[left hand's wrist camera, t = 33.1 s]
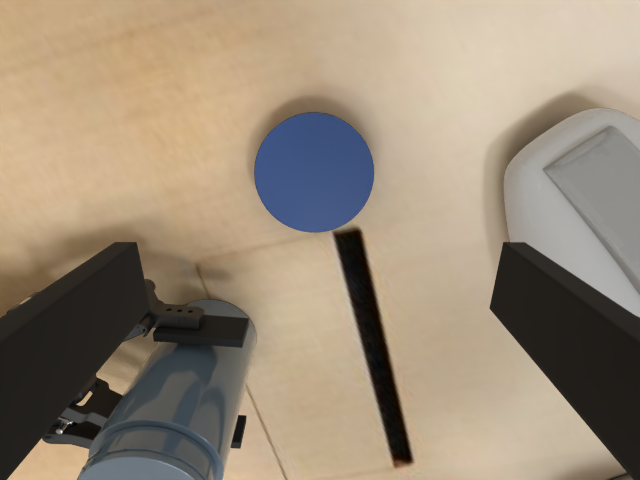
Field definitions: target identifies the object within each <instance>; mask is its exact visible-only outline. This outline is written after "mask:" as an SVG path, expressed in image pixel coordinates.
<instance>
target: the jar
mask: <svg viewBox="0 0 640 480" xmlns="http://www.w3.org/2000/svg"><path fill="white" fill-rule="evenodd" d="M186 306H196V307H200V308H202V309H204V312H205V315H215V316H227V317H240V318H249V317H248V316H247V315H246V314H245V313H244V312H243V311H242V310H240V309H239V308H237V307H236V306H234V305H232V304H229V303H227V302H224V301H220V300H212V299H206V300H198V301H195V302H192V303H190V304H187V305H186ZM256 338H257V336H256V331H255V327H254V325H253V323H252V321H251V320H250V318H249V327H248V330H247V333H246V337H245V340H244V343H243V347H242V348H238V347H224V346H211V345H197V344H183V343H170V342H157V344H156V345H155V347H154V348H153V350H152V351H151V353H150V354H149V356H148V358H147V359H146V361H145V362H144V364H143V365H142V367H141V368H140V370H139V371H138V373H137V374H136V376H135V377H134V379H133V381H132V382H131V384H130V385H129V387H128V388H127V390H126V391H125V393H124V394H123V396H122V397H121V399H120V400H119V402H118V403H117V405H116V407H115V408H114V410H113V411H112V413H111V414H110V416H109V417H108V419H107V420H106V422H105V423H104V425H103V426H102V428H101V430H100V431H99V433H98V434H97V436H96V437H95V439H94V440H93V442H92V444H91V446H90V449H89V456H88V457H89V459H88V460H87V462H86V464H85V465H84V467H83V468H82V470H81V472H80V474H79V476H78V478H77V480H222V479H223V476H224V472H225V468H226V464H227V460H228V456H229V452H230V448H231V444H232V440H233V436H234V431H235V427H236V423H237V419H238V415H239V411H240V407H241V403H242V399H243V395H244V391H245V387H246V383H247V379H248V374H249V370H250V366H251V362H252V358H253V354H254V350H255V346H256Z"/></svg>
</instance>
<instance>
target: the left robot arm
mask: <svg viewBox="0 0 640 480" xmlns="http://www.w3.org/2000/svg"><path fill="white" fill-rule="evenodd" d="M149 310H150V304H149V299H148V295H147V290H146V285H145V280H144V276H143V271H142V266H141V261H140V257H139V252H138V247H137V242H115V243H113V244H112V245H110V246H109V247H107V248H106V249H104V250H103V251H101V252H100V253H98V254H97V255H95V256H94V257H92V258H91V259H89V260H88V261H86V262H84V263H83V264H81V265H80V266H78V267H77V268H75V269H74V270H72V271H71V272H69V273H68V274H66V275H65V276H63V277H62V278H60V279H59V280H57V281H56V282H54V283H53V284H51V285H50V286H48V287H47V288H45V289H44V290H42V291H41V292H39V293H38V294H36V295H35V296H33V297H32V298H30V299H29V300H27V301H26V302H24V303H23V304H21V305H20V306H18V307H17V308H15V309H14V310H12V311H11V312H9V313H8V314H6V315H5V316H3V317H1V318H0V480H7V479H8V477H9V476H10V475H11V474H12V473H13V471H14V470H15V469H16V468H17V467H18V466H19V464H20V463H21V462H22V461H23V460H24V458H25V457H26V456H27V455H28V454H29V452H30V451H31V450H32V449H33V448H34V446H35V445H36V444H37V443H38V442H39V441H40V439H41V438H42V437H43V436H44V435H45V433H46V432H47V431H48V430H49V429H50V427H51V426H52V425H53V424H54V423H55V421H56V420H57V419H58V418H59V417H60V415H61V414H62V413H63V412H64V411H65V410H66V408H67V407H68V406H69V405H70V404H71V402H72V401H73V400H74V399H75V398H76V396H77V395H78V394H79V393H80V392H81V390H82V389H83V388H84V387H85V386H86V385H87V383H88V382H89V381H90V380H91V379H92V377H93V376H94V375H95V374H96V373H97V371H98V370H99V369H100V368H101V367H102V365H103V364H104V363H105V362H106V361H107V360H108V358H109V357H110V356H111V355H112V354H113V352H114V351H115V350H116V349H117V348H118V346H119V345H120V344H121V343H122V342H123V340H124V339H125V338H126V337H127V336H128V335H129V333H130V332H131V331H132V330H133V329H134V327H135V326H136V325H137V324H138V323H139V321H140V320H141V319H142V318H143V317H144V315H145V314H146V313H147V312H148V311H149ZM490 310H491V311H492V312H493V313H494V314H495V315H496V317H497V318H498V319H499V320H500V321H501V323H502V324H503V325H504V326H505V327H506V329H507V330H508V331H509V332H510V333H511V335H512V336H513V337H514V338H515V339H516V340H517V342H518V343H519V344H520V345H521V346H522V348H523V349H524V350H525V351H526V352H527V354H528V355H529V356H530V357H531V358H532V360H533V361H534V362H535V363H536V364H537V365H538V367H539V368H540V369H541V370H542V371H543V373H544V374H545V375H546V376H547V377H548V379H549V380H550V381H551V382H552V383H553V385H554V386H555V387H556V388H557V389H558V390H559V392H560V393H561V394H562V395H563V396H564V398H565V399H566V400H567V401H568V402H569V404H570V405H571V406H572V407H573V408H574V410H575V411H576V412H577V413H578V414H579V415H580V417H581V418H582V419H583V420H584V421H585V423H586V424H587V425H588V426H589V427H590V429H591V430H592V431H593V432H594V433H595V435H596V436H597V437H598V438H599V439H600V441H601V442H602V443H603V444H604V445H605V446H606V448H607V449H608V450H609V451H610V452H611V454H612V455H613V456H614V457H615V458H616V460H617V461H618V462H619V463H620V464H621V466H622V467H623V468H624V469H625V470H626V471H627V473H628V475H624V476H621V477H618V478H616V479H613V480H640V317H638V316H636V315H634V314H632V313H631V312H629V311H628V310H626V309H625V308H623V307H622V306H620V305H619V304H617V303H616V302H614V301H613V300H611V299H610V298H608V297H607V296H605V295H604V294H602V293H601V292H599V291H598V290H596V289H595V288H593V287H592V286H590V285H589V284H587V283H586V282H584V281H583V280H581V279H580V278H578V277H577V276H575V275H574V274H572V273H571V272H569V271H568V270H566V269H565V268H563V267H562V266H560V265H559V264H557V263H556V262H554V261H552V260H551V259H549V258H548V257H546V256H545V255H543V254H542V253H540V252H539V251H537V250H536V249H534V248H533V247H531V246H530V245H528V244H527V243H525V242H503V247H502V252H501V257H500V261H499V266H498V271H497V276H496V280H495V285H494V290H493V295H492V299H491V304H490Z"/></svg>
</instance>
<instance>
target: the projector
mask: <svg viewBox="0 0 640 480" xmlns="http://www.w3.org/2000/svg"><path fill="white" fill-rule="evenodd" d="M504 204H505V214H506V221H507V228H508V235H509V240H510V242H525V243H527V244H528V245H530V246H531V247H533V248H534V249H536V250H537V251H539V252H540V253H542V254H543V255H545V256H546V257H548V258H549V259H551V260H552V261H554V262H556V263H557V264H559V265H560V266H562V267H563V268H565V269H566V270H568V271H569V272H571V273H572V274H574V275H575V276H577V277H578V278H580V279H581V280H583V281H584V282H586V283H587V284H589V285H590V286H592V287H593V288H595V289H596V290H598V291H599V292H601V293H602V294H604V295H605V296H607V297H608V298H610V299H611V300H613V301H614V302H616V303H617V304H619V305H620V306H622V307H623V308H625V309H626V310H628V311H629V312H631V313H632V314H634V315H636V316H638V317H640V121H639V120H637V119H635V118H633V117H631V116H629V115H627V114H625V113H622V112H620V111H617V110H613V109H606V108H594V109H588V110H584V111H581V112H579V113H576V114H574V115H572V116H570V117H568V118H566V119H565V120H563V121H561V122H560V123H558V124H556V125H555V126H553V127H552V128H550V129H549V130H547V131H546V132H544V133H543V134H541V135H540V136H538V137H537V138H536V139H534V140H533V141H532V142H530V143H529V144H528V145H527V146H525V147H524V148H523V149H522V150H521V151H520V152H519V153H518V154H517V155H516V156H515V157H514V158H513V159H512V160H511V162H510V163H509V164H508V166H507V168H506V171H505V175H504Z"/></svg>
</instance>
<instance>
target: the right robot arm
mask: <svg viewBox="0 0 640 480" xmlns="http://www.w3.org/2000/svg"><path fill="white" fill-rule="evenodd" d="M144 280H145V285H146V290H147V295H148V299H149V304H150V310H149V311H148V312H147V313H146V314H145V315H144V317H143V318H142V319H141V320H140V321H139V323H138V324H137V325H136V326H135V327H134V329H133V330H132V331H131V332H130V333H129V335H128V336H127V337H126V338H125V339H124V340H123V342H124V341H126V340H129V339H131V338H133V337H136V336H138V335H140V334H143V333H145V332H146V333H145V334H144V336H143V337H145V336H147V334H148V333H149V331H150V330H151V329H152V328H156V330H155V331H154V332H153V338H154V341H156V342H170V343H183V344H197V345H211V346H224V347H238V348H242V347H243V343H244V340H245V337H246V333H247V330H248V327H249V318H240V317H227V316H215V315H205V312H204V309H202V308H200V307H196V306H183V305H170V304H164V303H163V302H162V301H160V300H158V298H157V296H156V294H155V292H154V290H155V288H156V287H155V284H154V282H153V281H151V280H149V279H144ZM38 293H39V292H36V293H34V294H32V295H31V296H29V297H28V298H26V299H25V300H23V301H22V302H21V303H19V304H18V305H16V306H15V307H13V308H12V309H10V310H9V311H8V312H7V314H8V313H9V312H11V311H12V310H14V309H15V308H17V307H18V306H20V305H21V304H23V303H24V302H26V301H27V300H29V299H30V298H32V297H33V296H35V295H36V294H38ZM89 391H91V392H92V393H93V394H92V396H91V397H90V398H89V399H88V401H87V402H86V403H85V405H83V406H78V405H76V404H77V403H79V402H80V401H82V400H83V399H84V397H85V396H86V395H87V394H88V392H89ZM122 396H123V395H121V394H118V393H116V392H114V391H112V390H110V389H109V385H108V383H107V382H105V381H103V380H101V379H99V378H97V377H96V374H95V375H94V376H93V377H92V379H91V380H90V381H89V382H88V383H87V385H86V386H85V387H84V388H83V389H82V390H81V392H80V393H79V394H78V395H77V396H76V398H75V399H74V400H73V401H72V402H71V404H70V405H69V406H68V407H67V408H66V410H65V411H64V412H63V413H62V414H61V415H60V417H59V418H58V419H57V420H56V421H55V423H54V424H53V425H52V426H51V427H50V429H49V430H48V431H47V432H46V433H45V435H44V436H43V437H42V439H43V441H45V442H46V443H50V444H72V445H76V446H80V447H84V448H88V449H90V446H91V444H92V442H93V440H94V439H95V437H96V436H97V434H98V433H99V431H100V430H101V428H102V426H103V425H104V423H105V422H106V420H107V419H108V417H109V416H110V414H111V413H112V411H113V410H114V408H115V407H116V405H117V403H118V402H119V400H120V399H121V397H122ZM245 424H246V416H243V415H238V419H237V423H236V427H235V431H234V436H233V440H232V444H231V448H240V447H241V443H242V438H243V434H244V429H245Z"/></svg>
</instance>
